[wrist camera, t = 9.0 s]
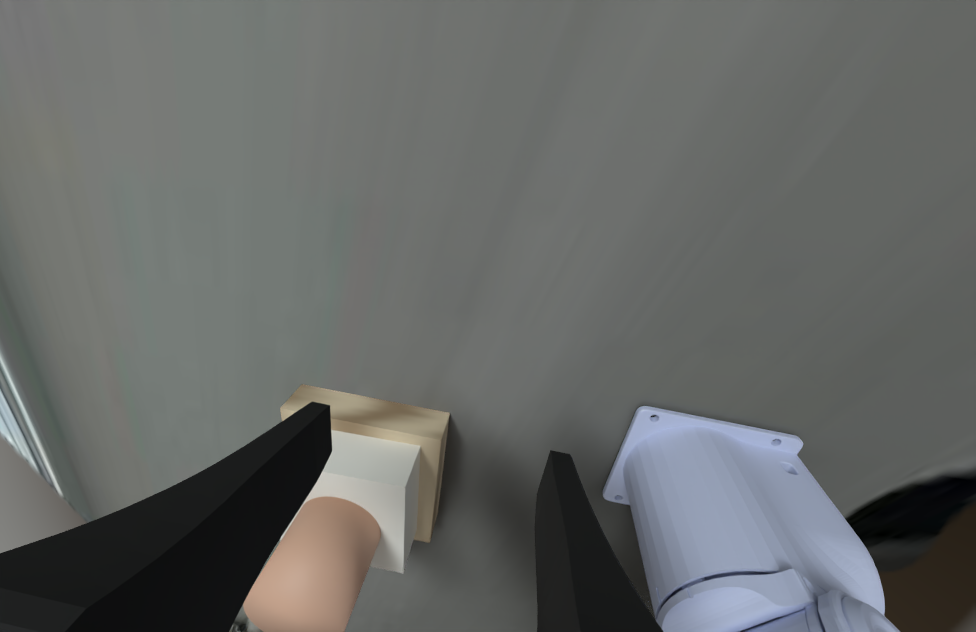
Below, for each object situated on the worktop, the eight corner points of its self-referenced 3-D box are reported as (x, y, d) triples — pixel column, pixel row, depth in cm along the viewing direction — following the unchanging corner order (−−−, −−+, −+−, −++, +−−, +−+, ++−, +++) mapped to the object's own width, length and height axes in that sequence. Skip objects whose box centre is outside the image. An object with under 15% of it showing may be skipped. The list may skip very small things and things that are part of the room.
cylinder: (396, 526, 23) (360, 624, 18) (357, 562, 25) (317, 658, 21) (320, 483, 22) (264, 574, 18) (287, 524, 24) (229, 616, 20)
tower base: (451, 407, 26) (441, 439, 23) (439, 506, 31) (429, 542, 28) (306, 379, 27) (280, 408, 24) (316, 480, 31) (294, 514, 29)
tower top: (420, 445, 24) (405, 486, 21) (416, 529, 28) (403, 573, 25) (294, 423, 24) (263, 460, 22) (307, 508, 28) (282, 549, 25)
